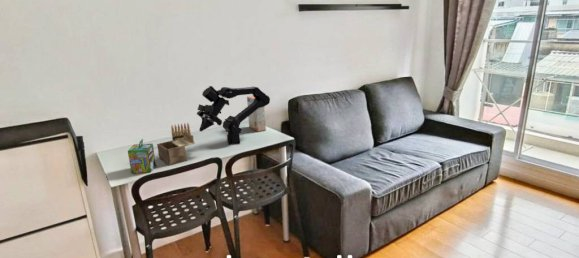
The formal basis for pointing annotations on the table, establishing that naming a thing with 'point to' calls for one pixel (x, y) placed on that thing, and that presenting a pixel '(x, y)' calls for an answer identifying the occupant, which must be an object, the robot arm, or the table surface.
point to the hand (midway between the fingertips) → (200, 131)
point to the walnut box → (171, 153)
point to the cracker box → (256, 117)
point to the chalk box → (141, 158)
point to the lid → (184, 140)
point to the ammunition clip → (180, 131)
